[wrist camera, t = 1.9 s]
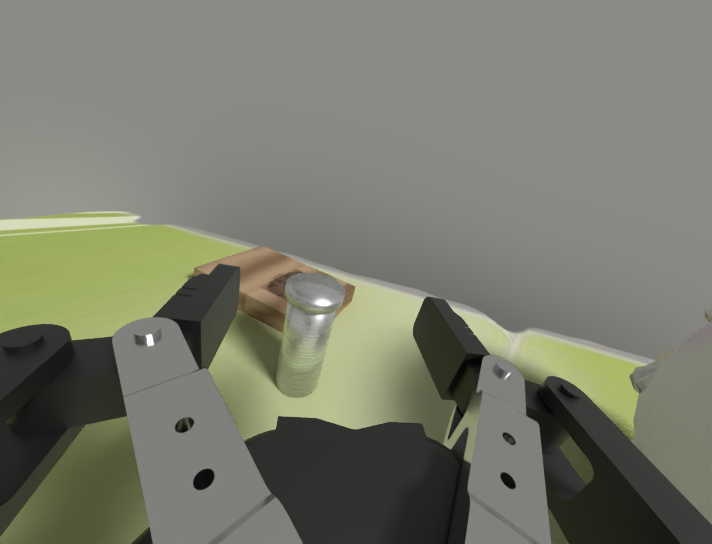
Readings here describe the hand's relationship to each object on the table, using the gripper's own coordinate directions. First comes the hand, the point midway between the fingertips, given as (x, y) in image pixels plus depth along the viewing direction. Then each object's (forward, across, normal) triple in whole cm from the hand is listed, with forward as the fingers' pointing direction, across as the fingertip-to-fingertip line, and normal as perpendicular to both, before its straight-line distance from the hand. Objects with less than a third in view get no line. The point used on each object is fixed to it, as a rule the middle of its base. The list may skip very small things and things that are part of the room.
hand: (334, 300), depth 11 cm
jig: (+28, +5, +18) cm, 33 cm away
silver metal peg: (+11, 0, +18) cm, 21 cm away
